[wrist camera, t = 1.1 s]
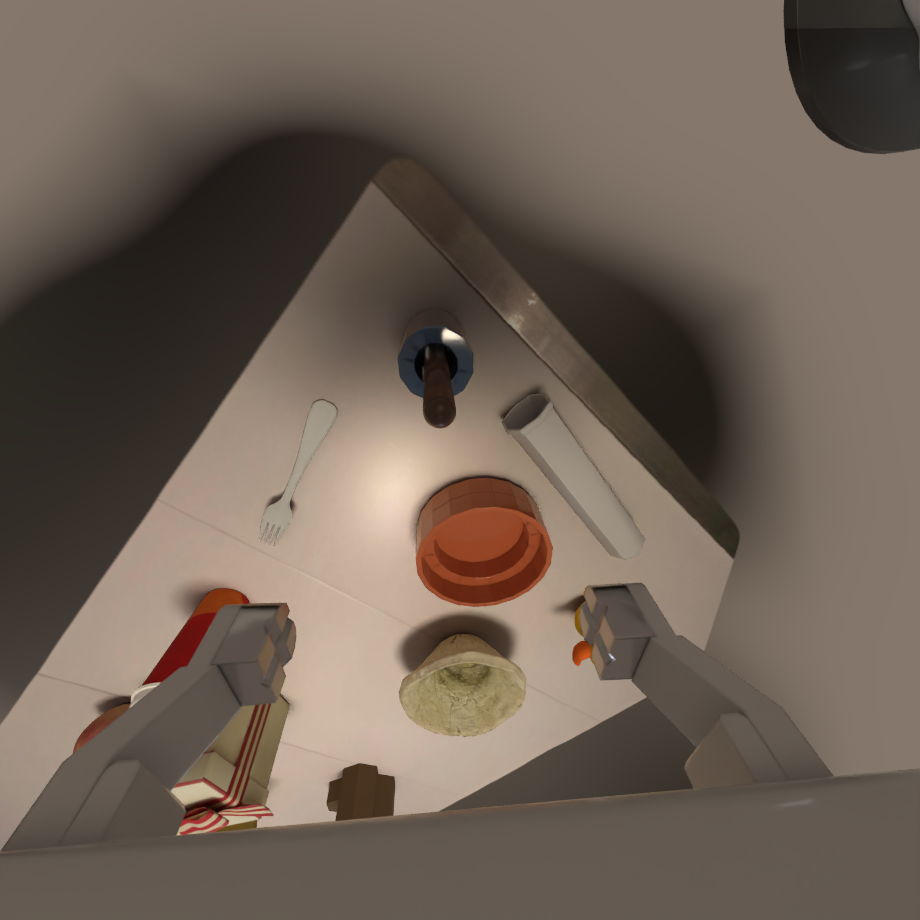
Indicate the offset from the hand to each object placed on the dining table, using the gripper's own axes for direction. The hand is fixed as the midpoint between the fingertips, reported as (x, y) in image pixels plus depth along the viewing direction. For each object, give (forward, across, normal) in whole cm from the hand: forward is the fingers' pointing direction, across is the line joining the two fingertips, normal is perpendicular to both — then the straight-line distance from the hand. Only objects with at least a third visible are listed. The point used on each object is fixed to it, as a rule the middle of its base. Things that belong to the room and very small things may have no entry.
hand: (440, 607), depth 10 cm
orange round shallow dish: (+29, -5, +22) cm, 37 cm away
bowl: (+29, -3, +48) cm, 56 cm away
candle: (+28, +18, +92) cm, 98 cm away
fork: (+29, +16, +14) cm, 36 cm away
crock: (+29, 0, 0) cm, 29 cm away
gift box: (+28, +34, +56) cm, 72 cm away
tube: (+29, -17, +16) cm, 37 cm away
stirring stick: (+28, 0, 0) cm, 28 cm away
